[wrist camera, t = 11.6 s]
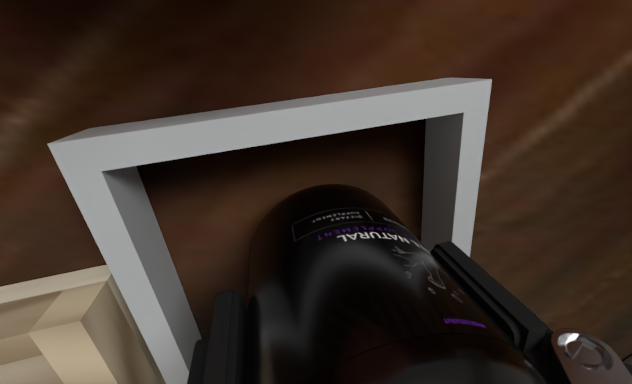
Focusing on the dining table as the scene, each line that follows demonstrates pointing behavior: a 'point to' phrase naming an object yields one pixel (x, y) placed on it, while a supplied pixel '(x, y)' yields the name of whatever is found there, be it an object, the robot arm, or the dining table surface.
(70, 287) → the divided wooden tray
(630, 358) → the soda can
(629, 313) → the dining table surface
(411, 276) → the supplement bottle
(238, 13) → the dining table surface
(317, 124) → the frame
